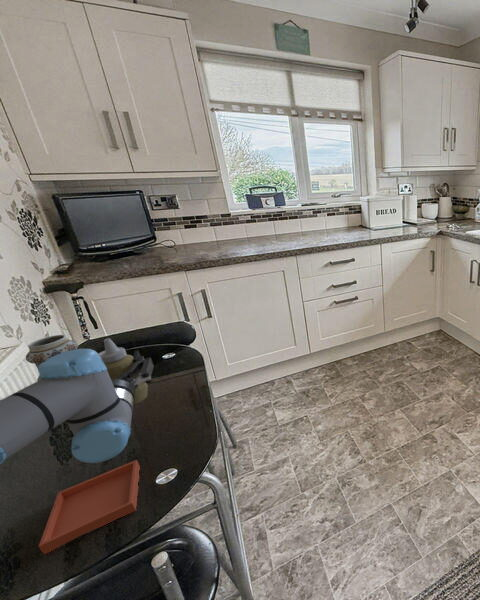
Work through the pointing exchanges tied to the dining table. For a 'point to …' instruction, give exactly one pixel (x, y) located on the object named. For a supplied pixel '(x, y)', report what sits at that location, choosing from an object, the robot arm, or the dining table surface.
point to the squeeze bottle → (121, 366)
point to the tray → (91, 505)
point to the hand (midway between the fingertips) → (121, 359)
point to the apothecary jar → (49, 349)
